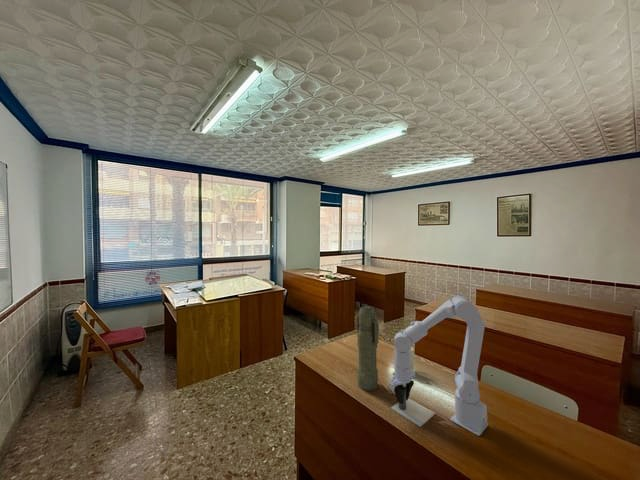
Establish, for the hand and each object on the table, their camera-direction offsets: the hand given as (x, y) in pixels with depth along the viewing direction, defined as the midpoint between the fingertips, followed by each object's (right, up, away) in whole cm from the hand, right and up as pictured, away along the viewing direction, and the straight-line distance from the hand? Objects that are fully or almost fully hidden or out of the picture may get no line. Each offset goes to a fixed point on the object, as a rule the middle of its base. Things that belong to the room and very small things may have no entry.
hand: (402, 400), depth 96 cm
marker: (0, -3, 0) cm, 3 cm away
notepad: (+3, -3, -1) cm, 5 cm away
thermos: (-10, -4, +16) cm, 19 cm away
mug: (+12, -3, +27) cm, 30 cm away
